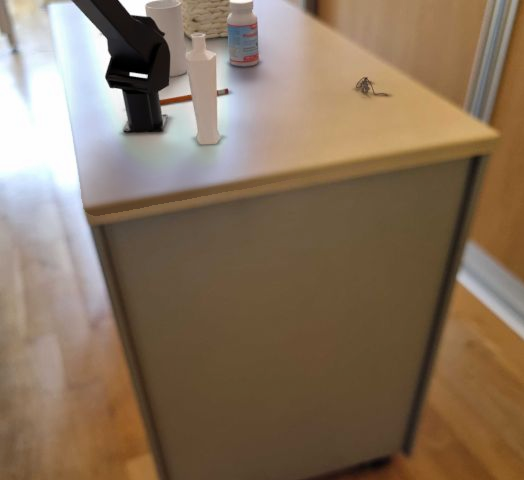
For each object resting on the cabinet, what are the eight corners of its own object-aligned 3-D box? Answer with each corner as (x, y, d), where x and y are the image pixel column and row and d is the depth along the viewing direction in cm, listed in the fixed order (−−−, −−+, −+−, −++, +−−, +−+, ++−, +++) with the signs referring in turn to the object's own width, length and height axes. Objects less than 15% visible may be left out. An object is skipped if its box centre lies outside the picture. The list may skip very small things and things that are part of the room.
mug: (190, 75, 113) (182, 6, 105) (157, 78, 112) (146, 9, 104) (183, 60, 120) (175, -6, 112) (152, 63, 119) (141, -3, 111)
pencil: (228, 94, 105) (228, 89, 104) (128, 111, 100) (127, 106, 100) (227, 92, 105) (226, 87, 105) (127, 109, 101) (126, 104, 100)
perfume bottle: (223, 133, 92) (214, 29, 81) (222, 144, 88) (213, 38, 78) (194, 134, 92) (182, 31, 81) (193, 145, 88) (180, 39, 78)
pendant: (347, 86, 105) (348, 70, 104) (367, 81, 107) (368, 66, 105) (373, 99, 100) (374, 83, 98) (393, 94, 102) (395, 78, 100)
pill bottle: (249, 69, 114) (246, 5, 107) (224, 65, 117) (219, 2, 109) (264, 60, 118) (262, -2, 110) (239, 56, 120) (236, -5, 113)
